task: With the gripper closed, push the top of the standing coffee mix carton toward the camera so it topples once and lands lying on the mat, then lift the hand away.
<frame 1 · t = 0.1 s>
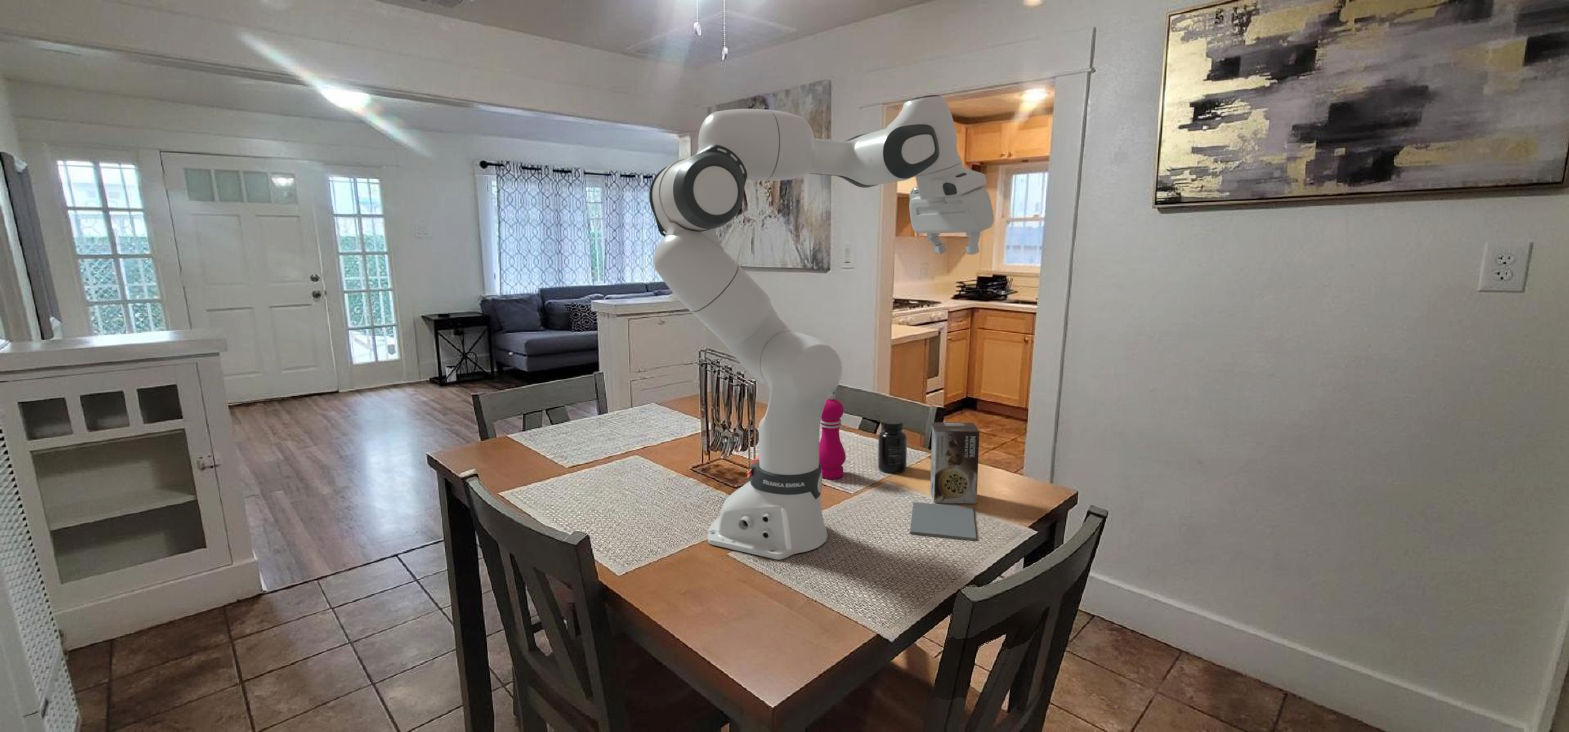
hand: (956, 253, 124), 52 cm above the table, tool tilted 20°, fingers open, 8 cm apart
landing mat: (942, 521, 123), on the table
coffee box: (952, 498, 135), on the table
supplement bottle: (891, 469, 152), on the table
pepper mill: (830, 475, 149), on the table
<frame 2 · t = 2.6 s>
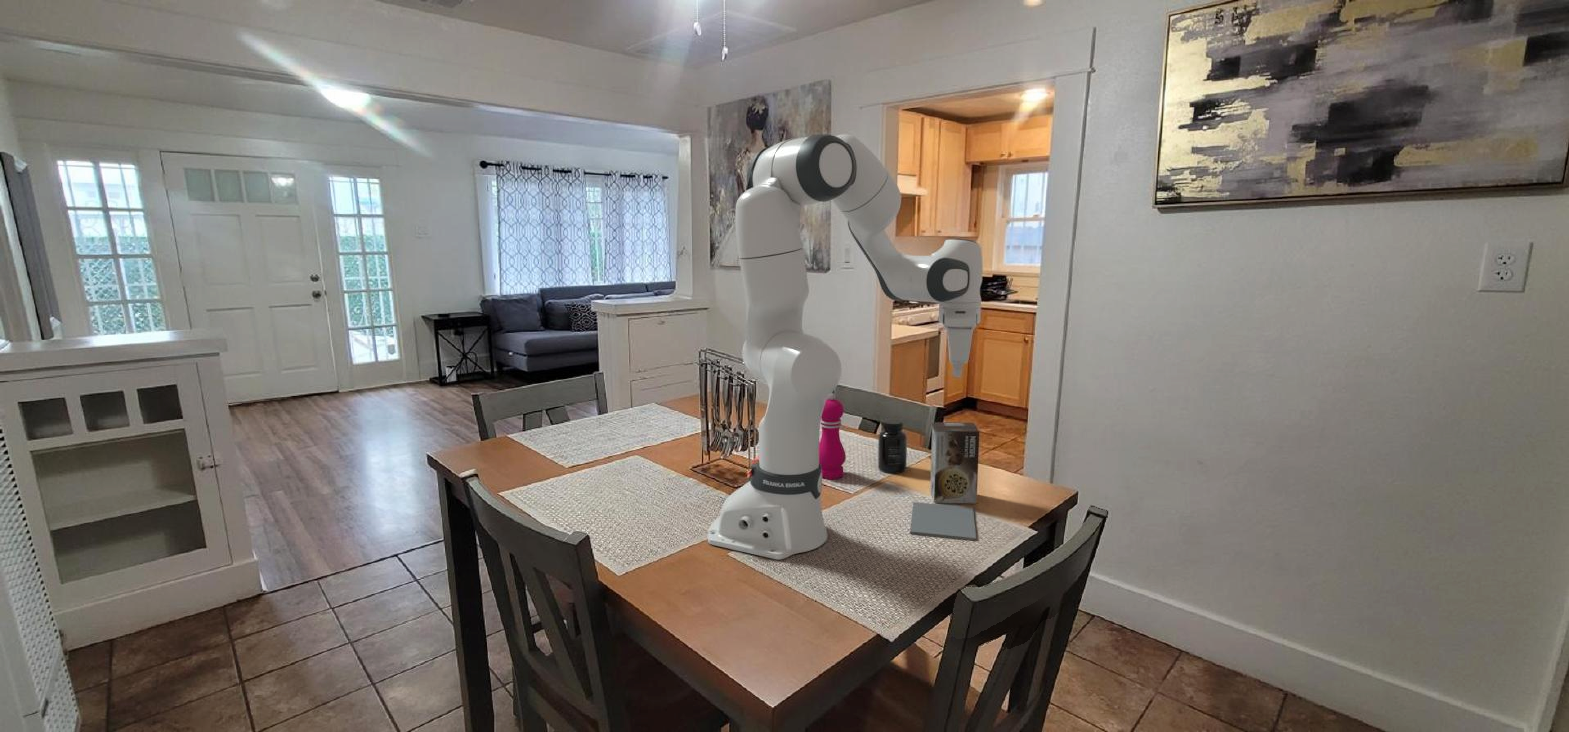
hand: (956, 376, 139), 25 cm above the table, tool pointing down, fingers closed
nothing on the table moved.
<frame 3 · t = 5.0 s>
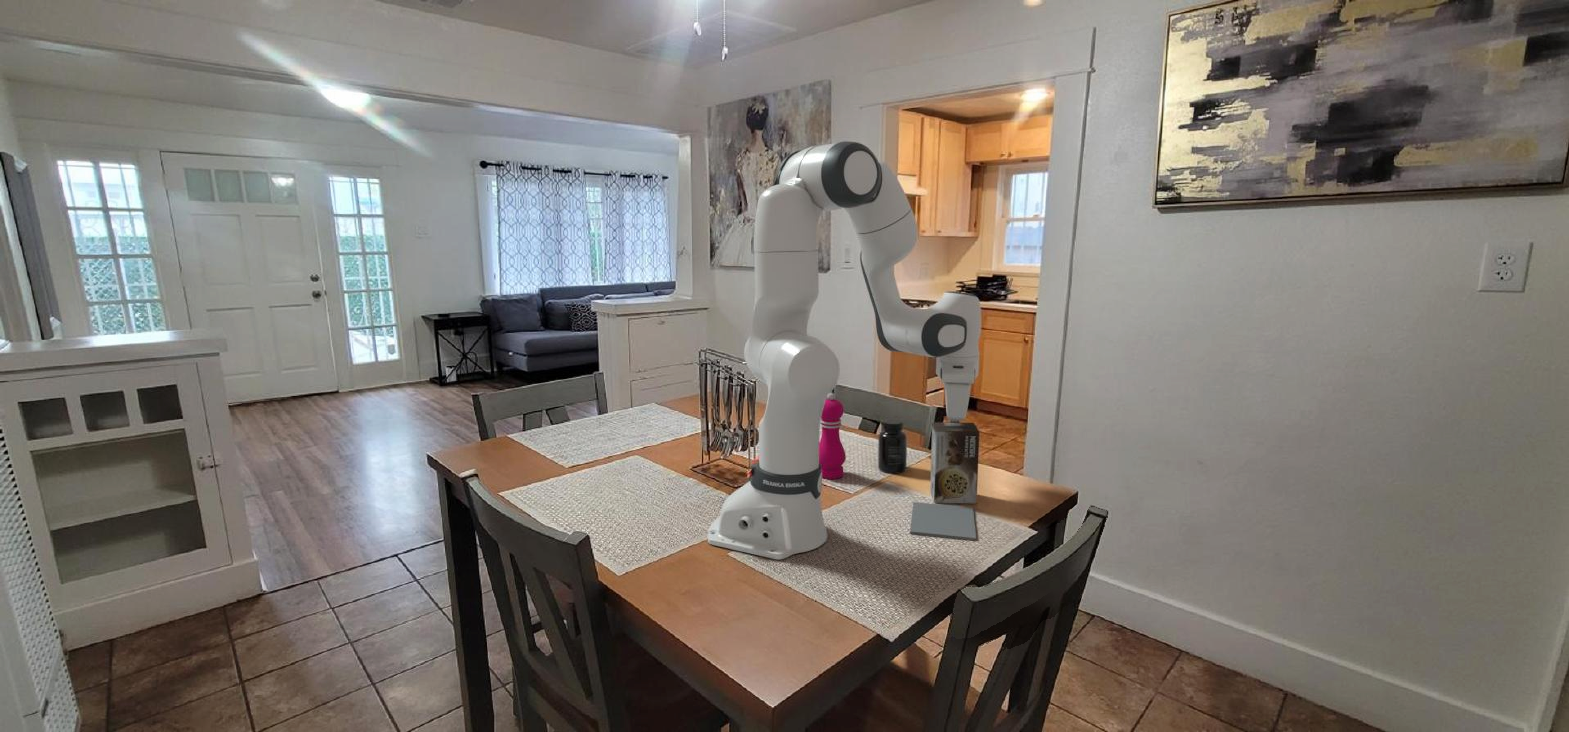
hand: (954, 429, 137), 14 cm above the table, tool pointing down, fingers closed
coffee box: (952, 498, 135), on the table, touching gripper
everything else where it was.
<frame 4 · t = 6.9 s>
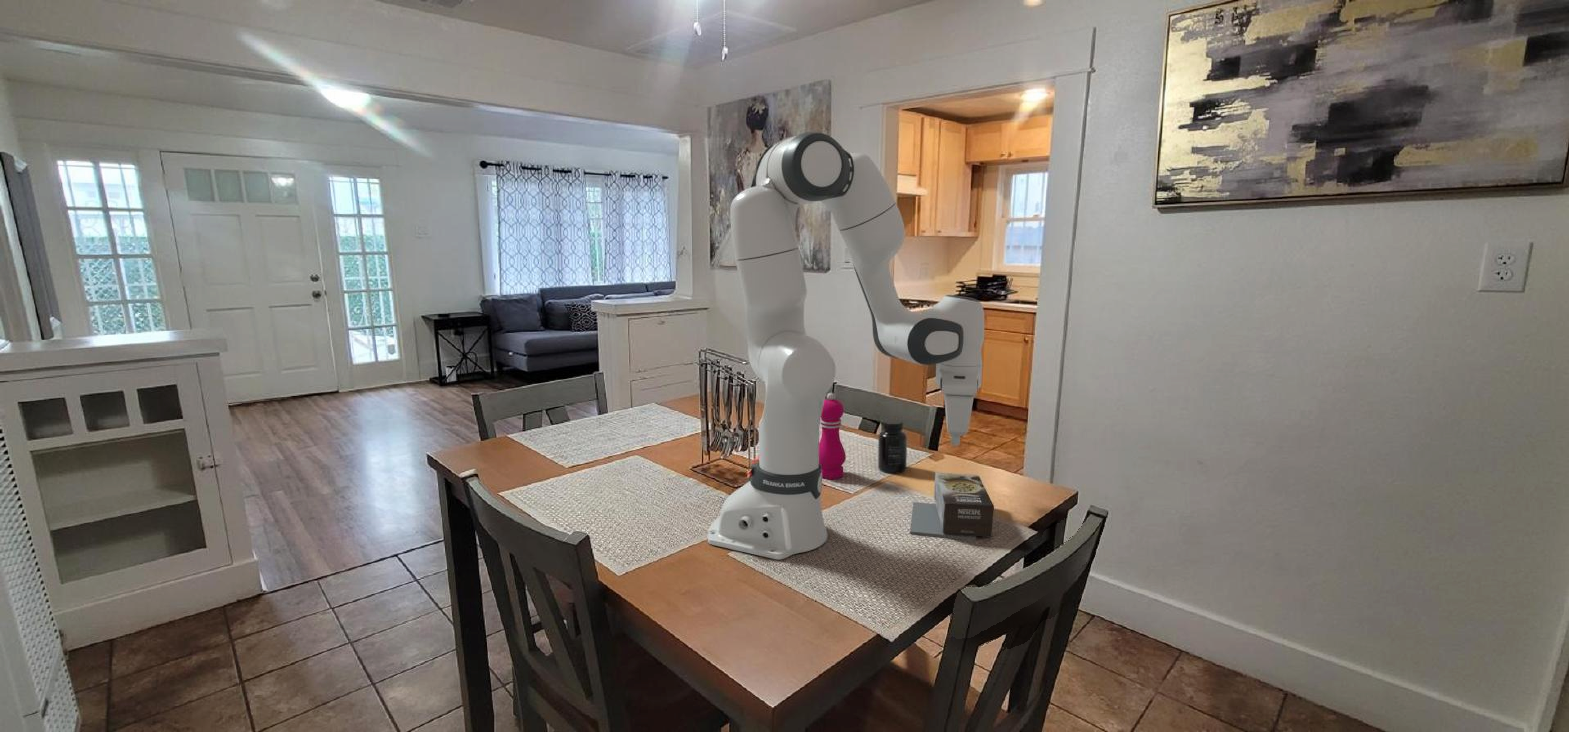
hand: (955, 443, 127), 14 cm above the table, tool pointing down, fingers closed
coffee box: (955, 486, 131), point 4 cm above the table, touching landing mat
everything else where it was.
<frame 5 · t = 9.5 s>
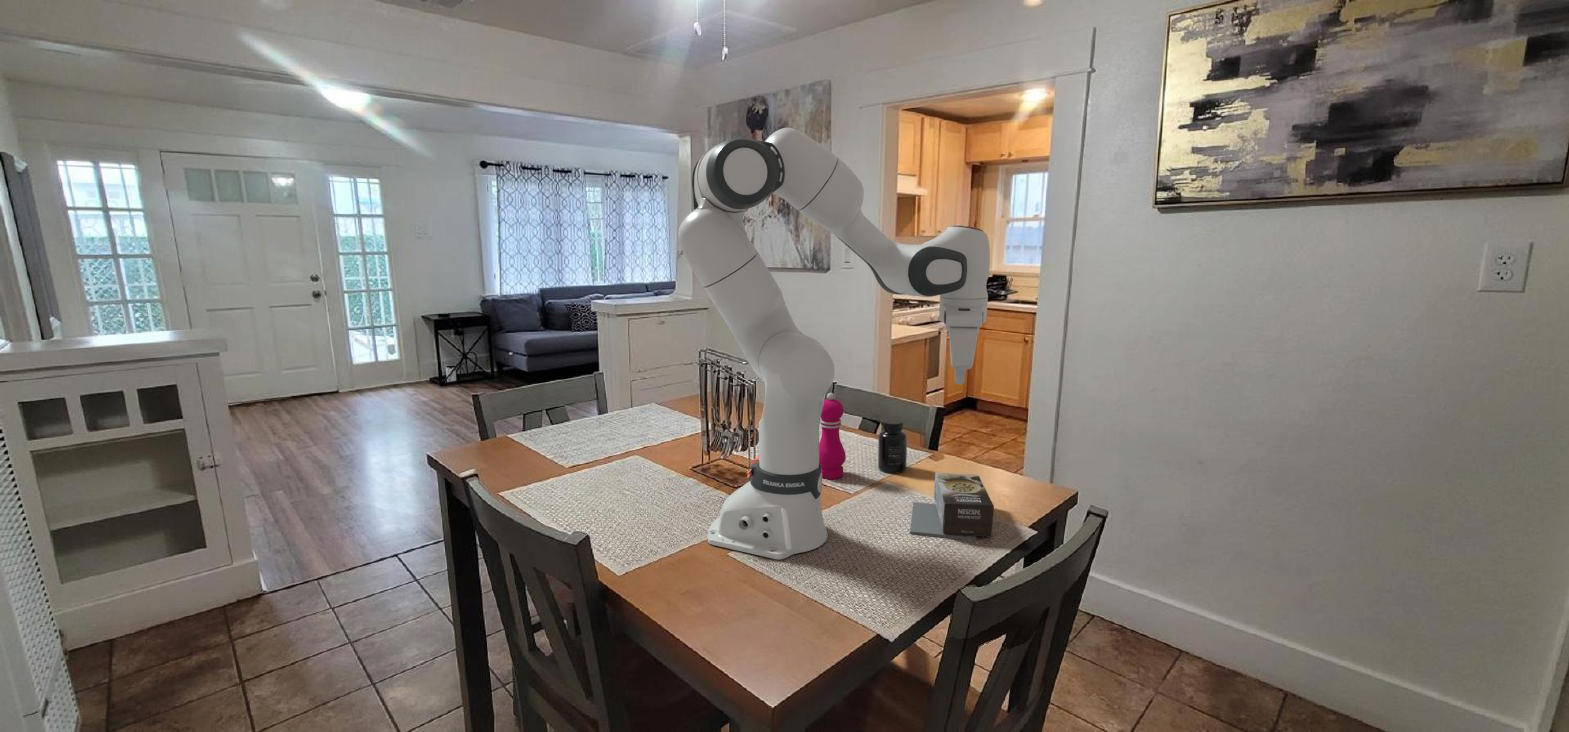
hand: (959, 382, 123), 27 cm above the table, tool pointing down, fingers closed
nothing on the table moved.
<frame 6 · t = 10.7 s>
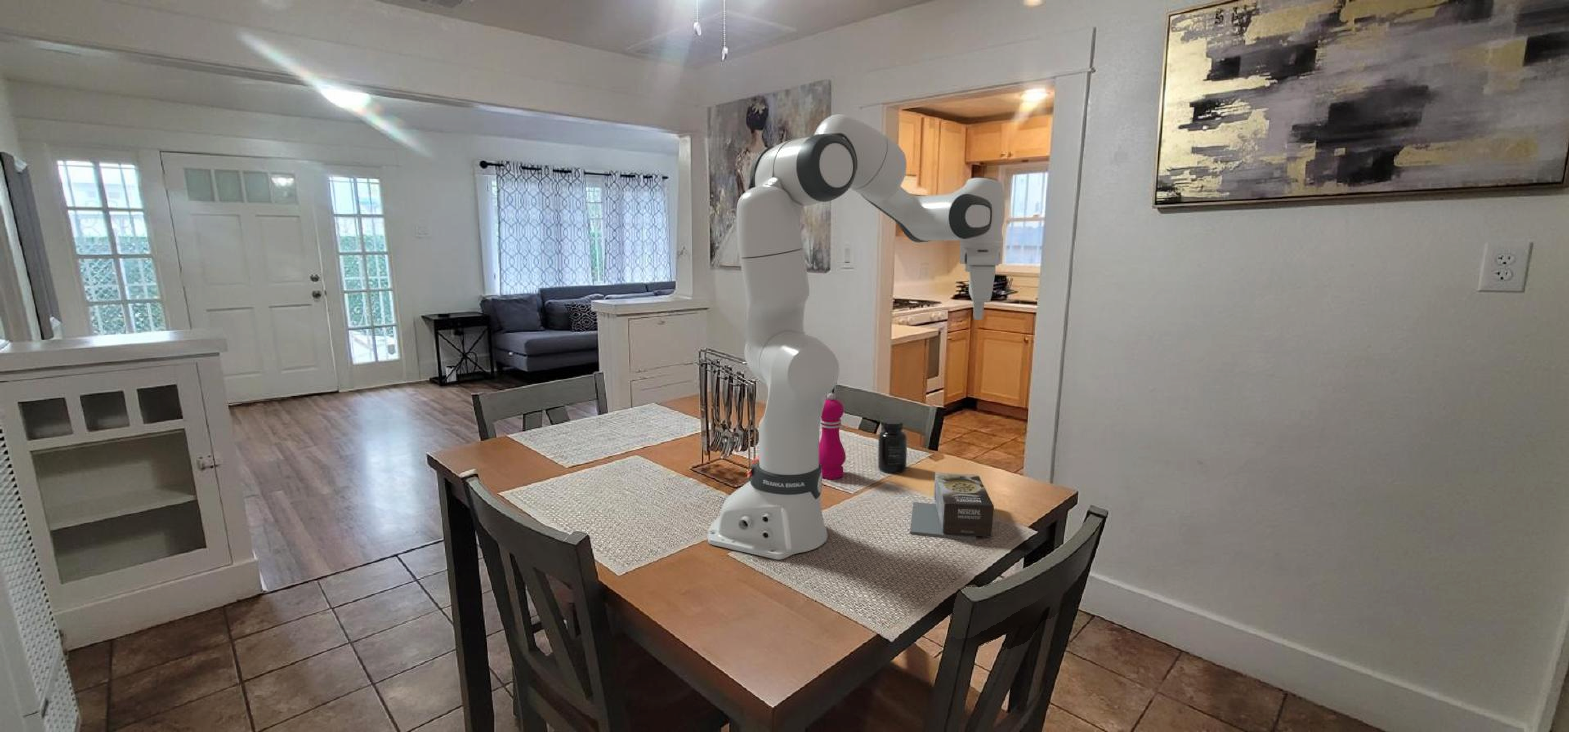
hand: (977, 319, 138), 37 cm above the table, tool pointing down, fingers closed
nothing on the table moved.
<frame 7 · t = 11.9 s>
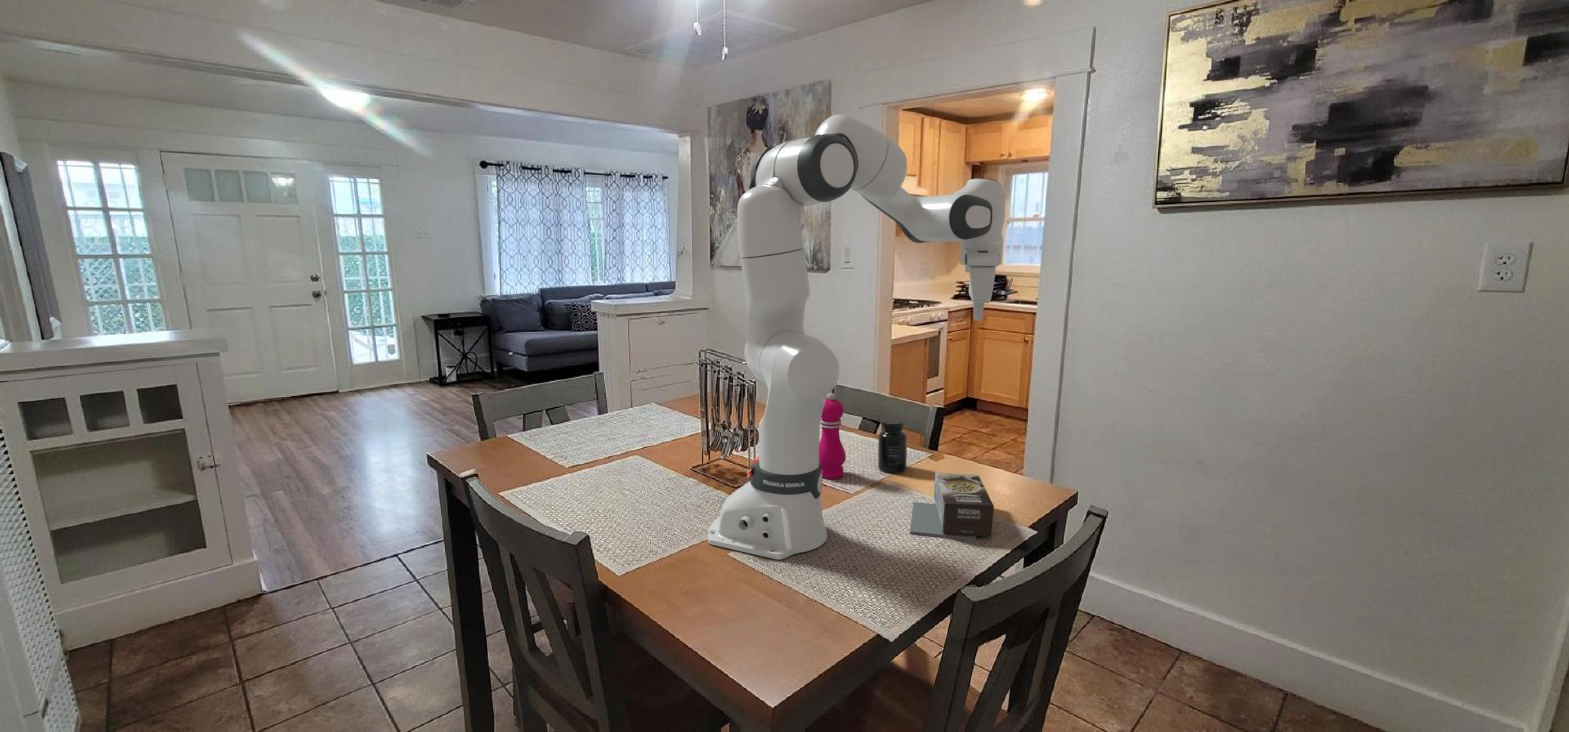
hand: (977, 319, 139), 37 cm above the table, tool pointing down, fingers closed
nothing on the table moved.
at the end: coffee box tilted 90°; coffee box inside the target area (3.0 cm from its centre), point 3.7 cm above the table; coffee box touching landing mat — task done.
